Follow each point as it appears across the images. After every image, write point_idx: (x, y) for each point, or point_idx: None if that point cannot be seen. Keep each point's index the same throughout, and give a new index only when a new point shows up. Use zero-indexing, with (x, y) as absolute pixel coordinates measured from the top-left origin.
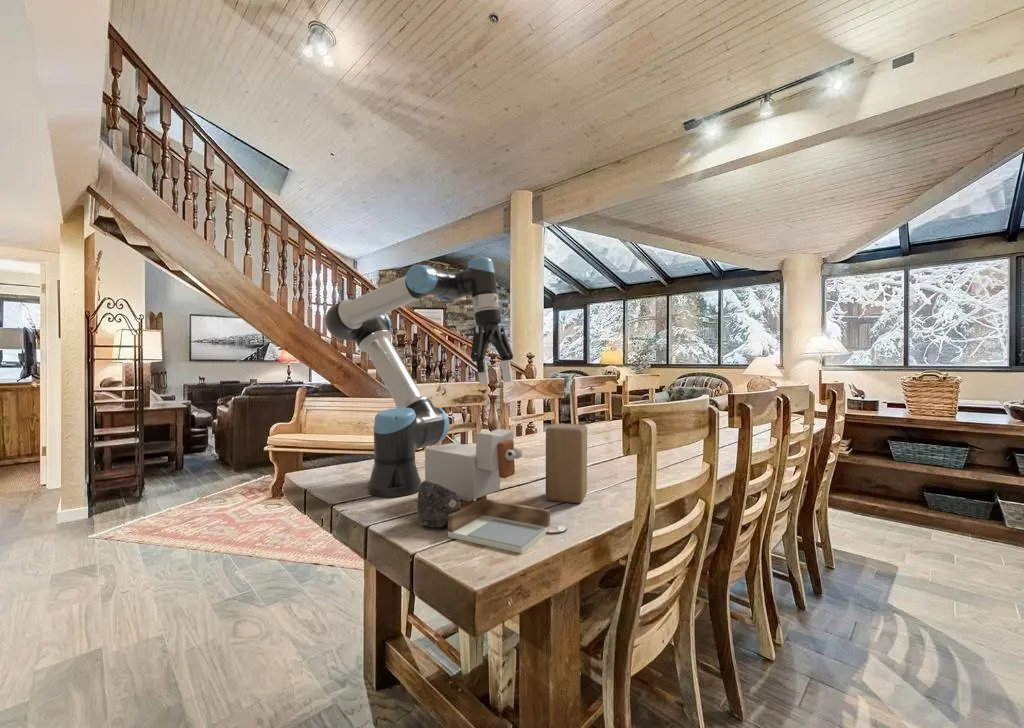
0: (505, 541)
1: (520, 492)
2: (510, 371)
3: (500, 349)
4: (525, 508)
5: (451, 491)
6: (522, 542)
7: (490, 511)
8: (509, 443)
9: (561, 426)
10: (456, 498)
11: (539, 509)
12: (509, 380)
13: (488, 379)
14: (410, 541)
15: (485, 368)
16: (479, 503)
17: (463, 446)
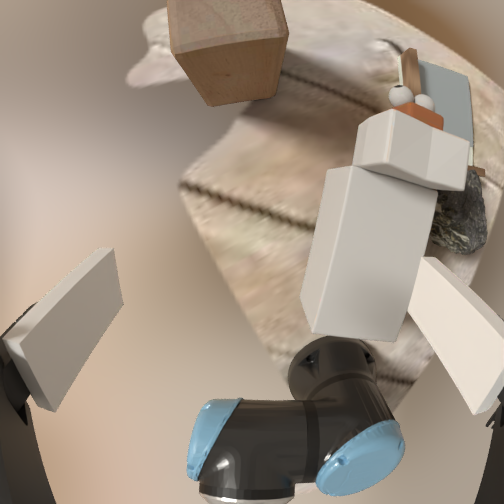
0: (467, 96)
1: (245, 162)
2: (70, 281)
3: (34, 501)
4: (419, 82)
5: (480, 188)
6: (460, 77)
7: None
8: (424, 107)
9: (240, 7)
10: (478, 176)
11: (416, 61)
12: (112, 264)
13: (435, 268)
14: (487, 211)
15: (489, 309)
16: None
17: (347, 280)
